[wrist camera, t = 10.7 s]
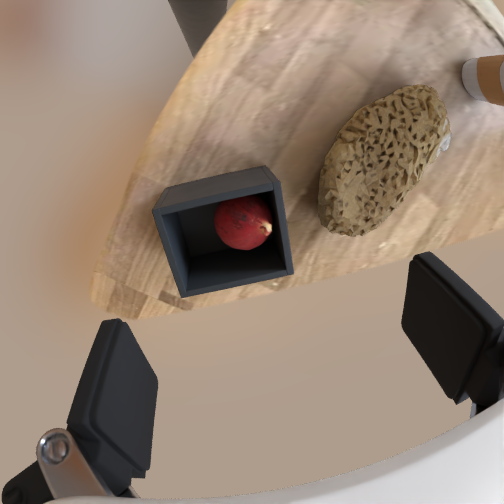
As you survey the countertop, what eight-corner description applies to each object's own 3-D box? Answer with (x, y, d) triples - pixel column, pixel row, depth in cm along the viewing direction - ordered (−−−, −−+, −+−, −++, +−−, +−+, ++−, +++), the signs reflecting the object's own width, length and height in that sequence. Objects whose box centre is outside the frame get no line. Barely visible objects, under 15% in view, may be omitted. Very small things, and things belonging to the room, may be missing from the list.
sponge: (397, 74, 30) (274, 149, 29) (446, 79, 24) (318, 165, 23) (420, 158, 38) (320, 239, 37) (463, 174, 32) (360, 270, 31)
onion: (192, 226, 32) (228, 241, 25) (219, 180, 32) (261, 182, 26) (232, 250, 35) (274, 268, 29) (256, 207, 36) (302, 216, 29)
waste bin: (187, 260, 37) (181, 298, 30) (165, 187, 33) (151, 210, 26) (278, 240, 37) (294, 274, 30) (265, 165, 33) (280, 181, 26)
